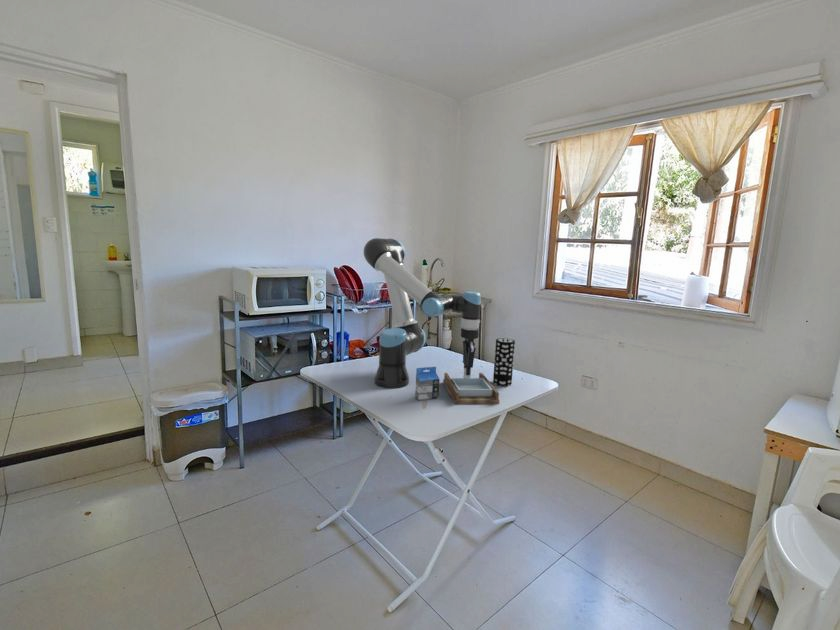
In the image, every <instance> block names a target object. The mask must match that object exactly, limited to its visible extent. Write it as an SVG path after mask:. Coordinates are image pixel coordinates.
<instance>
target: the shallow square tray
mask: <svg viewBox="0 0 840 630" xmlns="http://www.w3.org/2000/svg"><path fill="white" fill-rule="evenodd" d="M450 378H451V377H450ZM451 380H452V382H453V384H454V385H455V387H456V389H457V390H458V392H459V397H492V392H493V389H492V388H491V387H490V386H489V385H488V383H487V382H486V381H485V380H484V379H483V378H479V377H471V378H464V377H460V378H459V377H456V378H455V377H452V378H451Z"/></svg>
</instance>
